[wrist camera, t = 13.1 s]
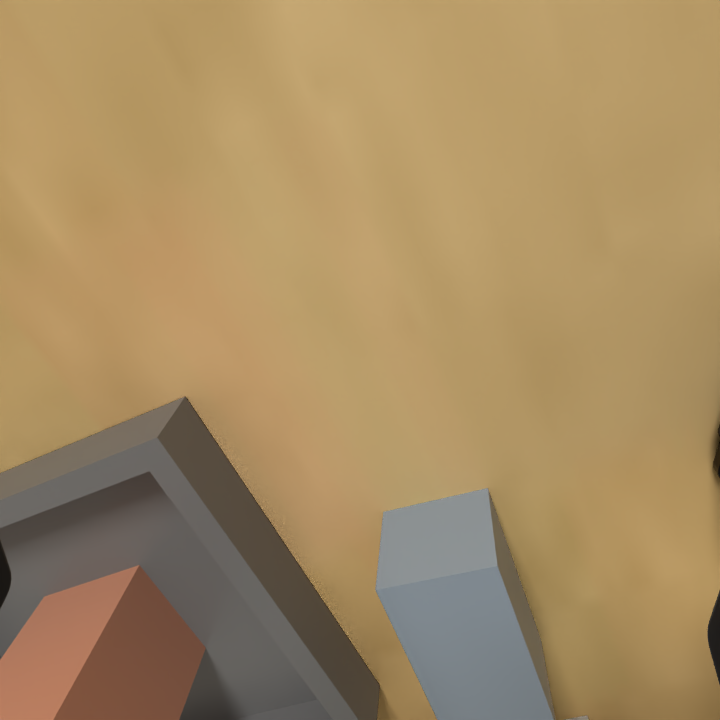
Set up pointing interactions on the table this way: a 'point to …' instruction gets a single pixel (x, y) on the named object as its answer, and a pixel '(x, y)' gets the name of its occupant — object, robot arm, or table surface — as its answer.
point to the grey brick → (579, 718)
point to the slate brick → (462, 610)
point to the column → (101, 655)
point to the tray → (183, 565)
